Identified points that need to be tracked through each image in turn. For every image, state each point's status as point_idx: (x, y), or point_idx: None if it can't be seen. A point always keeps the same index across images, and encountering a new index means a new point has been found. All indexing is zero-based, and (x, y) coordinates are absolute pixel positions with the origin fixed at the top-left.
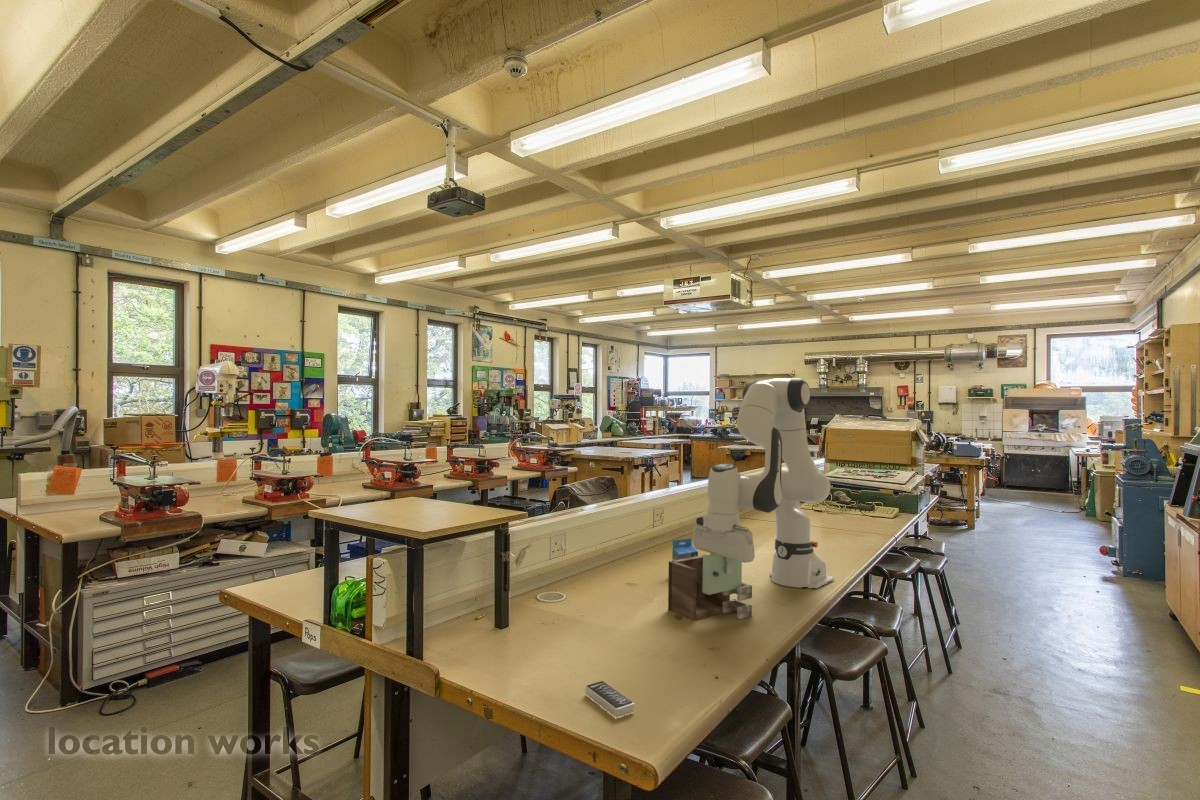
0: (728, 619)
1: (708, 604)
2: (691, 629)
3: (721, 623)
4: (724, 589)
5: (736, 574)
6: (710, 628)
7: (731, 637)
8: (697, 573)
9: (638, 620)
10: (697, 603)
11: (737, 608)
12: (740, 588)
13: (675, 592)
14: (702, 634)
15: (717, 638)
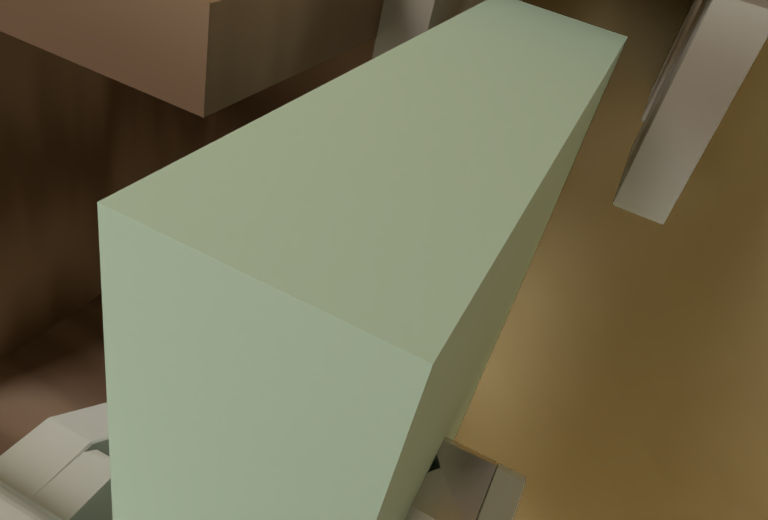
0: (593, 164)
1: (342, 59)
2: (466, 435)
3: (579, 272)
4: (499, 332)
5: (537, 227)
6: (552, 384)
7: (739, 470)
8: (30, 65)
9: None
10: (273, 93)
11: (645, 117)
12: (666, 215)
13: None
14: (552, 478)
15: (657, 505)
